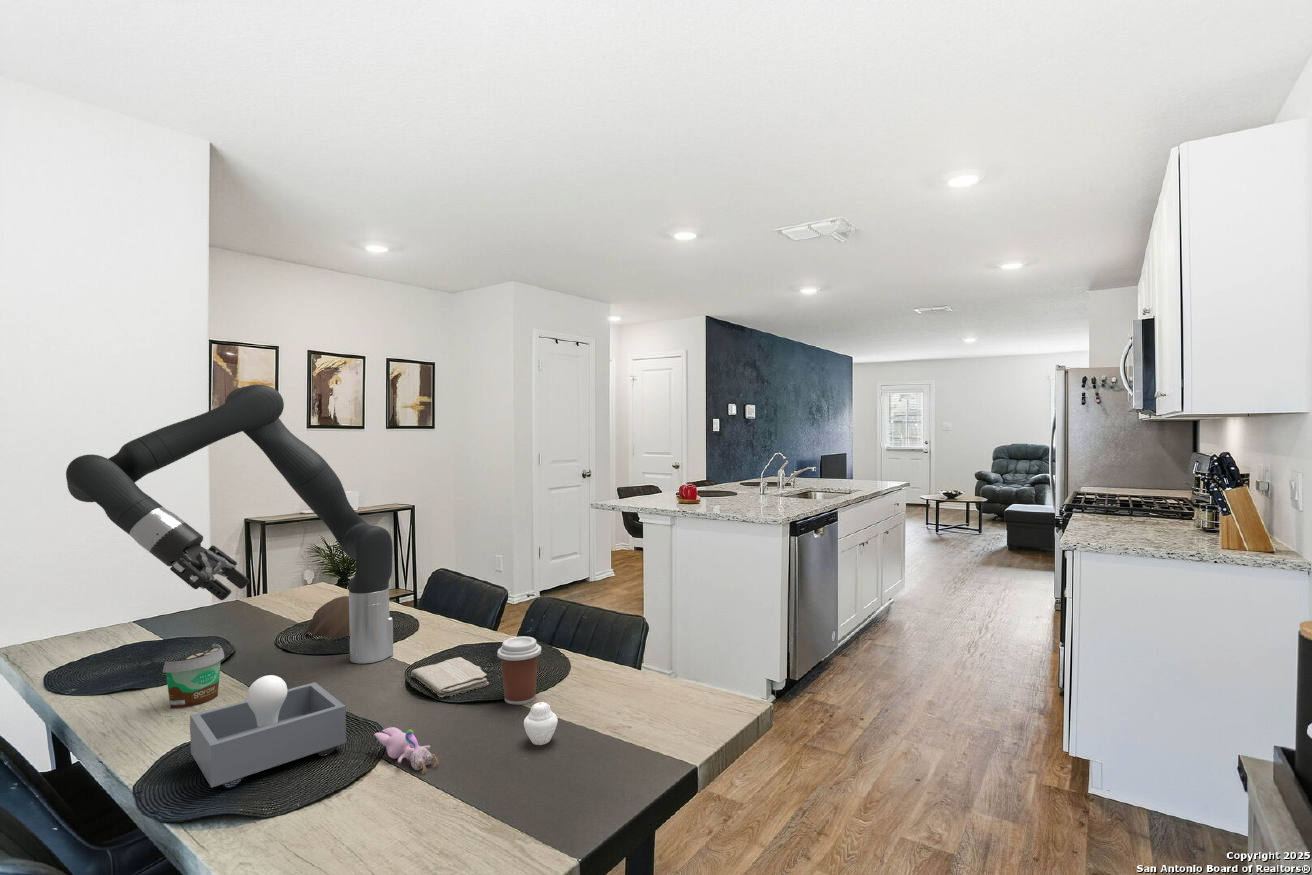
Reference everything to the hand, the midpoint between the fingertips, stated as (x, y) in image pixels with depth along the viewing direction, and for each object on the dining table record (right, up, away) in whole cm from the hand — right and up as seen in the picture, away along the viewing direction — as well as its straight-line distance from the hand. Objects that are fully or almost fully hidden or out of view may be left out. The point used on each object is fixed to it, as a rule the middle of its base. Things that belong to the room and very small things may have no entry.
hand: (237, 590), depth 126 cm
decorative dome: (-8, -26, +60) cm, 66 cm away
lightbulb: (+14, -23, -13) cm, 30 cm away
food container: (-15, -26, +12) cm, 32 cm away
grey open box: (+14, -26, -13) cm, 32 cm away
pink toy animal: (+38, -26, -14) cm, 48 cm away
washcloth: (+35, -26, +21) cm, 48 cm away
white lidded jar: (+61, -25, -9) cm, 66 cm away
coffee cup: (+53, -25, +10) cm, 60 cm away
